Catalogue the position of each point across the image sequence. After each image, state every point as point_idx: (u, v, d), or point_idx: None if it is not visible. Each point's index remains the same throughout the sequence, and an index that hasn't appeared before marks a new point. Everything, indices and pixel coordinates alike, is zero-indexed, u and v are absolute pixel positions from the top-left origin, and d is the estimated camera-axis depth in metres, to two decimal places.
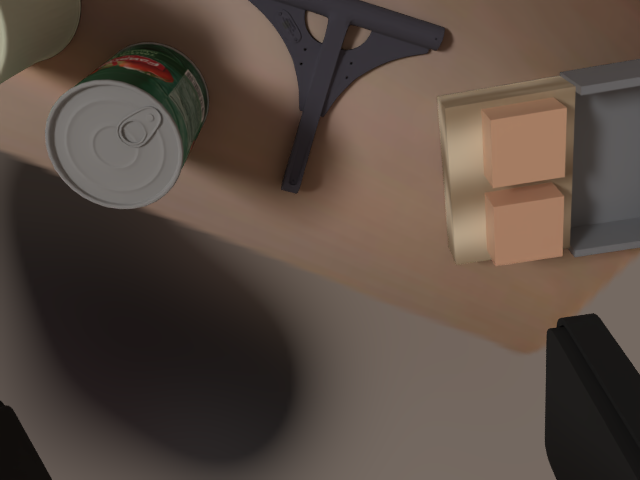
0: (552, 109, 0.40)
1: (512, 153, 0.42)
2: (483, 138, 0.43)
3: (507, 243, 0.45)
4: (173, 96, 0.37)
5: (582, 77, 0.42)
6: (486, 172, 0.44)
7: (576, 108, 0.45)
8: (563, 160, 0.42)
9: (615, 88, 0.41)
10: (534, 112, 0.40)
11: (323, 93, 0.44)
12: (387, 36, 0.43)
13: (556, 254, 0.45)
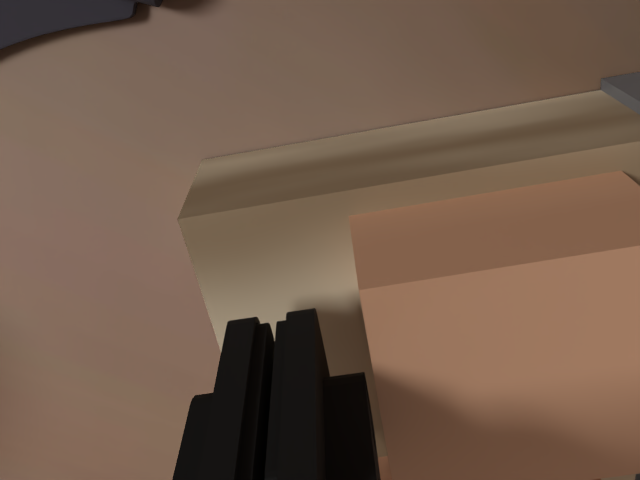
0: (633, 242, 0.09)
1: (462, 403, 0.10)
2: None
3: None
4: None
5: None
6: None
7: None
8: None
9: None
10: (552, 255, 0.09)
11: None
12: None
13: None
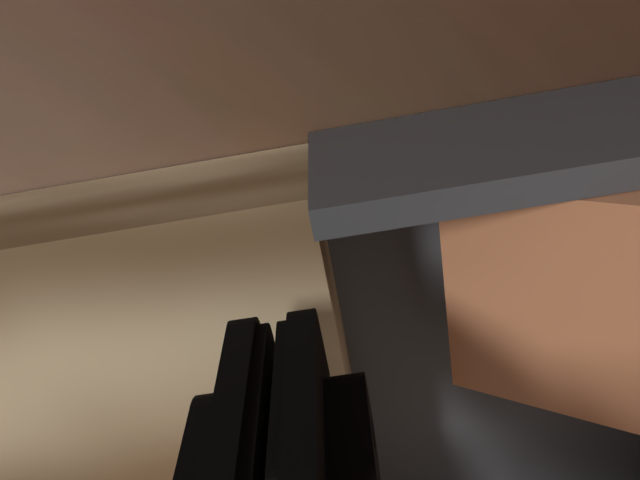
0: None
1: None
2: None
3: None
4: None
5: (347, 162, 0.12)
6: None
7: (374, 240, 0.14)
8: None
9: (446, 216, 0.10)
10: None
11: None
12: None
13: None
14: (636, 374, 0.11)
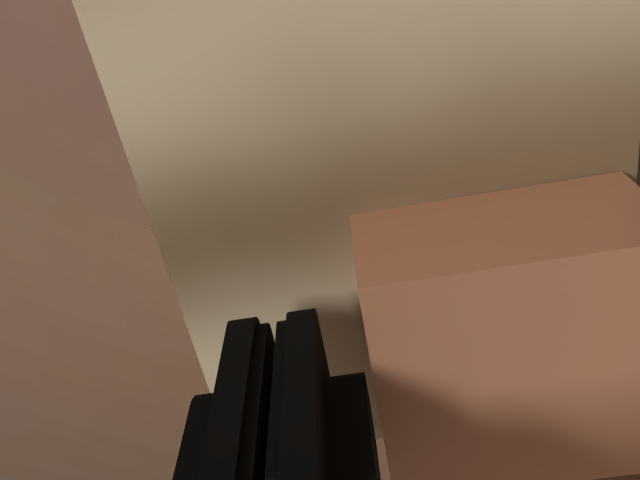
0: None
1: None
2: None
3: (436, 428, 0.11)
4: None
5: None
6: None
7: None
8: None
9: None
10: None
11: None
12: None
13: None
14: None
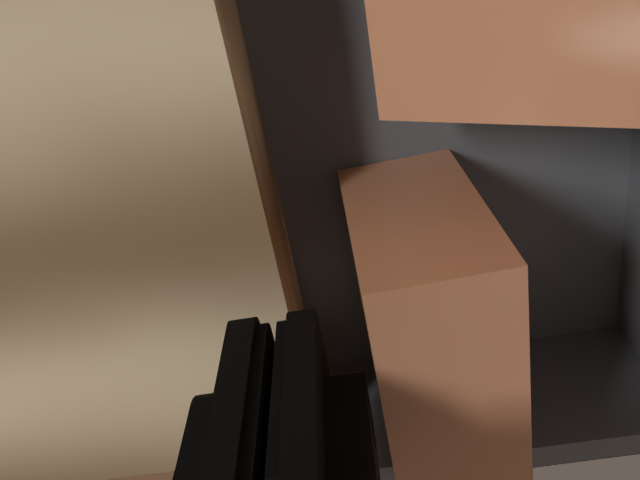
0: None
1: None
2: None
3: None
4: None
5: None
6: None
7: None
8: None
9: None
10: None
11: None
12: None
13: None
14: (607, 20, 0.08)
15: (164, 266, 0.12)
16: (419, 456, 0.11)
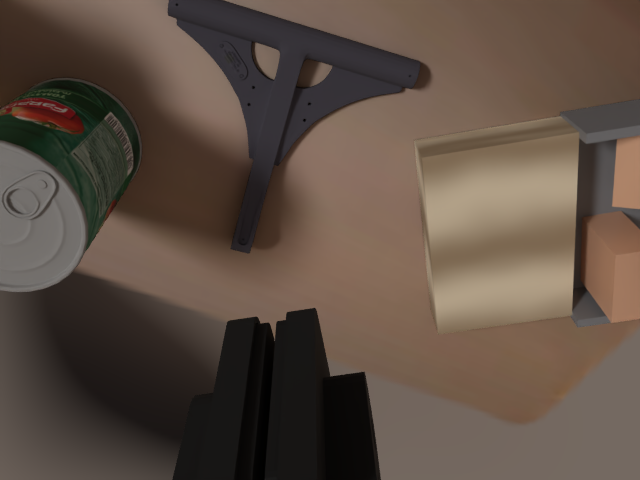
0: None
1: None
2: None
3: None
4: (78, 153, 0.29)
5: (587, 121, 0.35)
6: None
7: (580, 154, 0.38)
8: None
9: (627, 135, 0.34)
10: None
11: (276, 139, 0.37)
12: (351, 72, 0.36)
13: None
14: None
15: (540, 249, 0.38)
16: (620, 303, 0.37)
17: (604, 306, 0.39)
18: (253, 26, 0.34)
